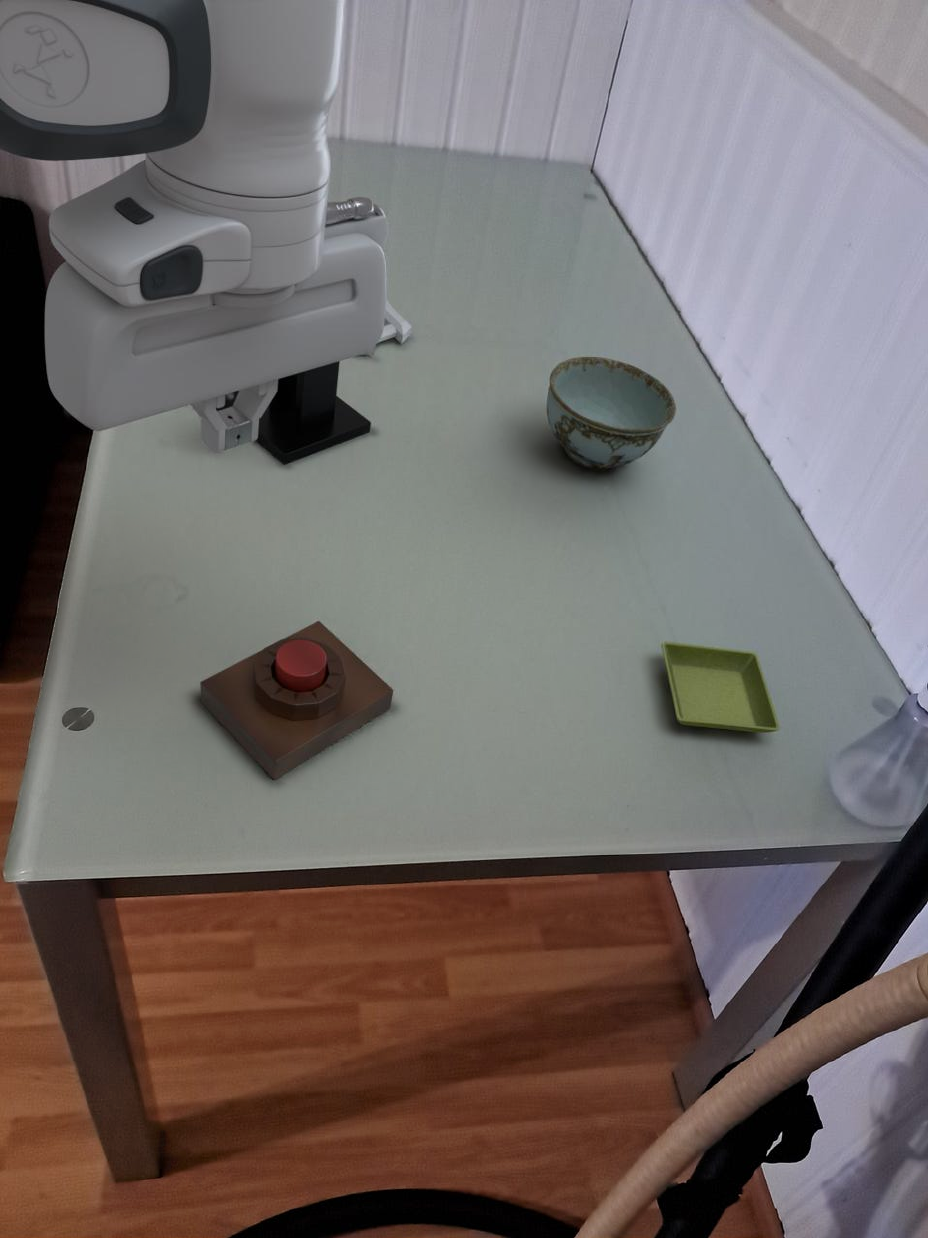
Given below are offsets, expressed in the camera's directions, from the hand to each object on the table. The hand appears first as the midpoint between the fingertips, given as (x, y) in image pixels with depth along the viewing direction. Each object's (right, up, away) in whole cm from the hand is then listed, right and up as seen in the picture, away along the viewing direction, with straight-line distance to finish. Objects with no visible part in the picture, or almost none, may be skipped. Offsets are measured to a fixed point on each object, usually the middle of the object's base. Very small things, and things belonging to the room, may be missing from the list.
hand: (229, 441), depth 58 cm
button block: (+2, -17, +14) cm, 23 cm away
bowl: (+28, +7, +46) cm, 54 cm away
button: (+2, -15, +12) cm, 19 cm away
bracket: (-2, +9, +40) cm, 41 cm away
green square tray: (+35, -18, +23) cm, 45 cm away
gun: (0, +26, +58) cm, 63 cm away
